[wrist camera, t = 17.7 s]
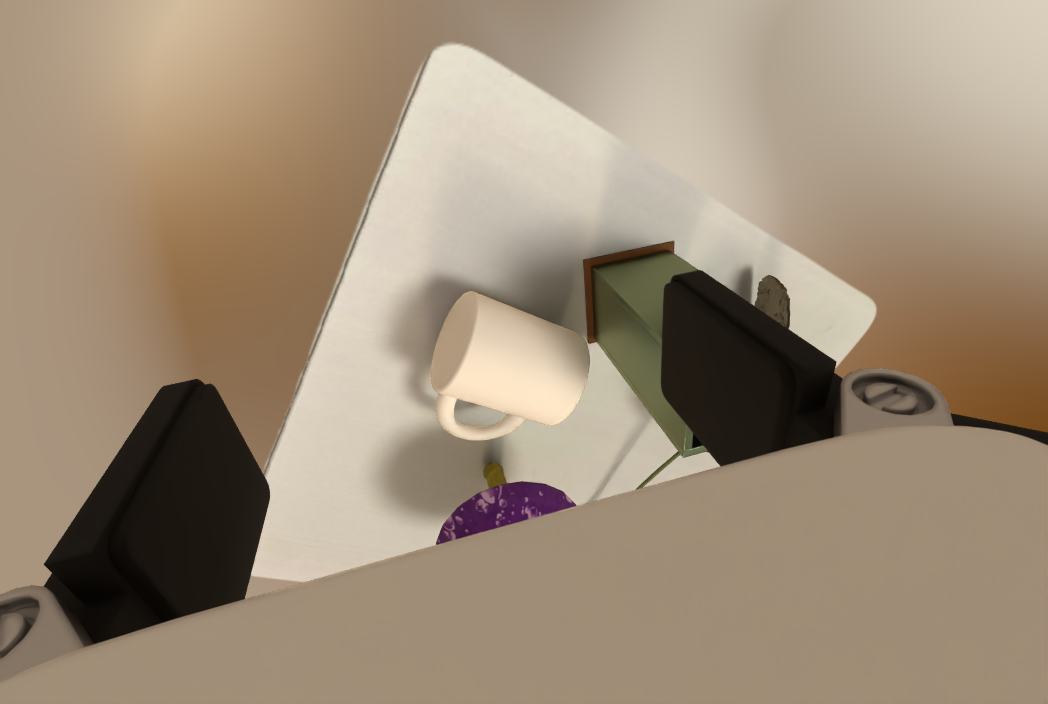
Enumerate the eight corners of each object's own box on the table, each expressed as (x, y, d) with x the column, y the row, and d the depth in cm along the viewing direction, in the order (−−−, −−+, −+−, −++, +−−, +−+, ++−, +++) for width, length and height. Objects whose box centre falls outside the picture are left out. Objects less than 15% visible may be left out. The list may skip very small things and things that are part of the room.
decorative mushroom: (461, 400, 45) (491, 532, 33) (574, 434, 51) (637, 559, 38) (407, 498, 50) (415, 649, 37) (516, 520, 55) (555, 658, 42)
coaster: (583, 259, 41) (583, 260, 41) (673, 241, 42) (674, 241, 42) (587, 342, 46) (588, 343, 45) (670, 323, 47) (671, 324, 46)
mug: (466, 274, 40) (483, 319, 33) (570, 317, 44) (604, 364, 37) (407, 394, 44) (412, 455, 37) (507, 422, 48) (527, 482, 41)
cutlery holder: (590, 265, 42) (689, 366, 28) (669, 249, 43) (800, 338, 29) (594, 338, 45) (683, 458, 32) (666, 321, 46) (782, 431, 33)
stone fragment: (755, 268, 46) (791, 293, 41) (762, 267, 46) (798, 291, 42) (741, 356, 51) (771, 385, 47) (747, 355, 51) (778, 384, 47)
